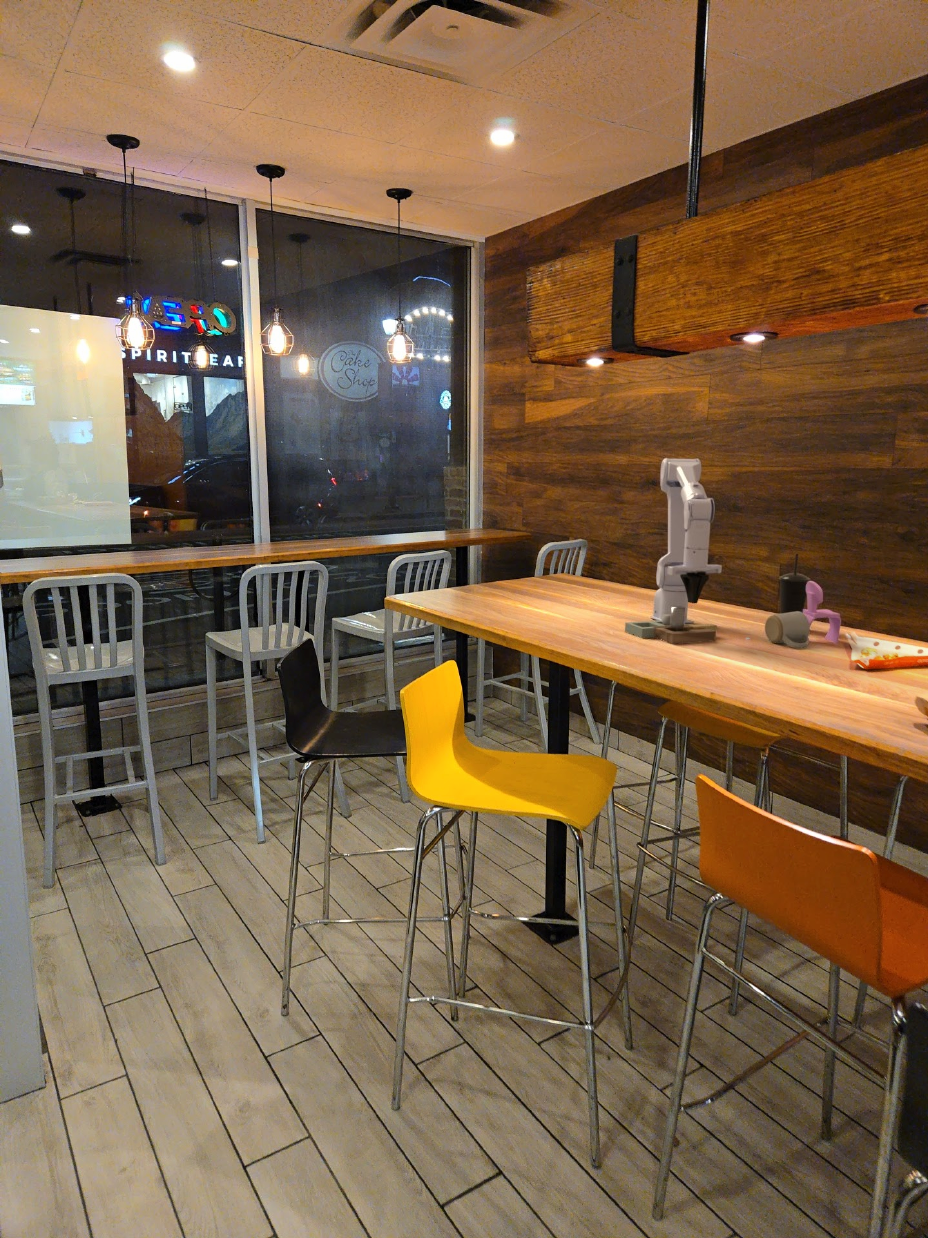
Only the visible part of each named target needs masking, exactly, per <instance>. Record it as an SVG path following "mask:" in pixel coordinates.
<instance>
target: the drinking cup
mask: <svg viewBox="0 0 928 1238" xmlns="http://www.w3.org/2000/svg"><path fill="white" fill-rule="evenodd" d="M794 556H795V557H794V568H793V572H792V573H791V572H790V573H786V574H783V575H781V576H778V577H779V578H778V580H779V581H780V583H779V585H780V586H779V590H780V591H779V595H780V597H779V601H780V602H779V603H780V604H779V605H780V607H779V608H780V609H779V611H780V613H779V614H782V613H789V612H796V611H799V612H802V613H803V609H805V606H806V605H805V604H806V601H807V593H806V584H807V582H808V581H811V578H810V577H807V576H806V575H804V574H803V573H799V572H797V571H798V561H799V553H795V555H794Z"/></svg>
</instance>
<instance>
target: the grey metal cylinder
mask: <svg viewBox="0 0 928 1238" xmlns="http://www.w3.org/2000/svg"><path fill="white" fill-rule="evenodd" d="M684 619H685V607H682V606H671V616H670V631H673V632H678V631H684V624H685V623H684Z"/></svg>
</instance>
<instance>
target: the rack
mask: <svg viewBox="0 0 928 1238" xmlns="http://www.w3.org/2000/svg"><path fill="white" fill-rule="evenodd" d="M670 616H671V614H663V620H646V621H630V622H625V624H624V633H627V632H628V633H627V634H630V635H632V634H634V635H633V636H635V637H637V636H638V638H640V639H646V638H647V639H648V638H649V639H651V638H655V637H654V631H655V628H658V627H655V628H654V627H651V626H666V625H670ZM686 624H687V623H684V626H686ZM687 626H688V625H687ZM667 627H668V626H667ZM659 628H660V627H659ZM650 637H651V638H650Z"/></svg>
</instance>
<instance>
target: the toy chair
mask: <svg viewBox="0 0 928 1238" xmlns="http://www.w3.org/2000/svg"><path fill="white" fill-rule="evenodd" d="M806 593H807V594H806V603H807V606H806V607H807V609H806V608H804V609H803V614H804V615H805V616H806V617H807V619H808V622H809V626H810V627H811V625H812V623H813V621H815V620H816V619H822V618H828V620H829V628H828V631H827V633H826V635H825V636H824V639H825V640H827V641H829V642H832V643H834V644H839V638H840V630H841V625H842V619H841V614H840V613H839V612H834V611H832V610H830V609H825V608H824V609H818V606H819V604H822V603H823V601H824V600H823V599H824V591H823V589H822V587H821V586H820V585H819V584H818V583H817V582H815V581H813V580H810V581H808V582H807V584H806ZM802 643H806V642H805V641H804V642H802Z"/></svg>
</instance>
